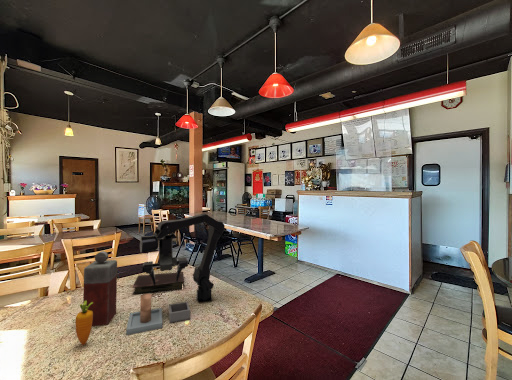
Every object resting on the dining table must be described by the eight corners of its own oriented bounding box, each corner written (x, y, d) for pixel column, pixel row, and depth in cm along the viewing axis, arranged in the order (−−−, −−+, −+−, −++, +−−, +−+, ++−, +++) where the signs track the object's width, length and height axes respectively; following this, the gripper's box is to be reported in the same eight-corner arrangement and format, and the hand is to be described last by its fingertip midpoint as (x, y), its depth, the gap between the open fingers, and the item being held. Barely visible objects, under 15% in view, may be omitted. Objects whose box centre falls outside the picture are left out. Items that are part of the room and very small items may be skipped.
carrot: (81, 340, 83) (81, 298, 83) (95, 340, 83) (96, 298, 83) (71, 350, 78) (72, 305, 78) (86, 349, 78) (87, 304, 78)
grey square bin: (187, 310, 104) (187, 301, 104) (189, 319, 97) (190, 310, 97) (168, 313, 101) (168, 304, 101) (169, 323, 94) (169, 313, 94)
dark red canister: (118, 310, 103) (119, 247, 103) (107, 324, 92) (109, 254, 92) (95, 312, 101) (97, 248, 101) (82, 327, 90) (83, 255, 90)
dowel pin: (151, 316, 97) (151, 292, 97) (150, 321, 93) (151, 297, 93) (140, 318, 95) (140, 294, 95) (139, 324, 92) (140, 298, 92)
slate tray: (161, 312, 102) (161, 307, 102) (162, 328, 91) (162, 322, 91) (129, 317, 97) (129, 313, 97) (126, 335, 86) (126, 329, 86)
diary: (138, 283, 135) (138, 274, 135) (183, 278, 143) (183, 270, 143) (131, 296, 117) (132, 286, 117) (183, 291, 125) (183, 281, 125)
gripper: (141, 256, 93) (141, 294, 94) (189, 251, 101) (189, 287, 101) (143, 249, 104) (143, 284, 104) (186, 245, 111) (186, 277, 111)
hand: (166, 283), depth 105 cm, fingers open, 9 cm apart
